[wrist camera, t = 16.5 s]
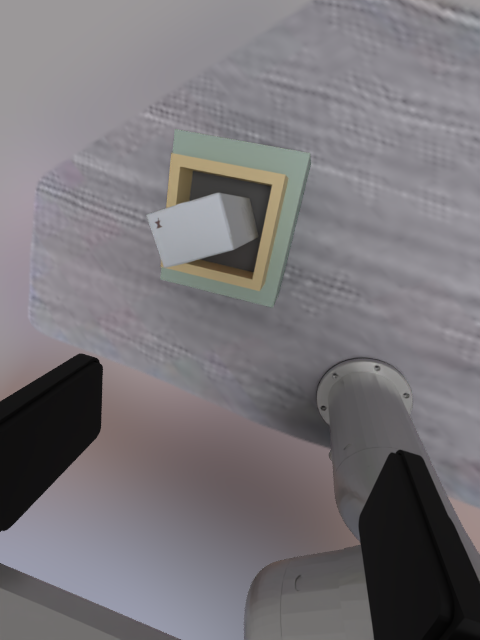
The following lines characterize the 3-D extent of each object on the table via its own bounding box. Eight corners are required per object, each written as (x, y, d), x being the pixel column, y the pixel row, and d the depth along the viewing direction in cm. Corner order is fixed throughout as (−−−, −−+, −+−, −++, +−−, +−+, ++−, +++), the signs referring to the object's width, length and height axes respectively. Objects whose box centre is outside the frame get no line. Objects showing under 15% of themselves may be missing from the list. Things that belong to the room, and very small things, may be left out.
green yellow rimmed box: (279, 292, 42) (268, 317, 32) (182, 269, 44) (145, 285, 34) (311, 163, 36) (309, 146, 27) (198, 142, 38) (159, 119, 29)
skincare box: (209, 251, 35) (161, 269, 24) (198, 212, 34) (142, 213, 23) (261, 237, 33) (234, 251, 22) (251, 196, 32) (218, 189, 21)
